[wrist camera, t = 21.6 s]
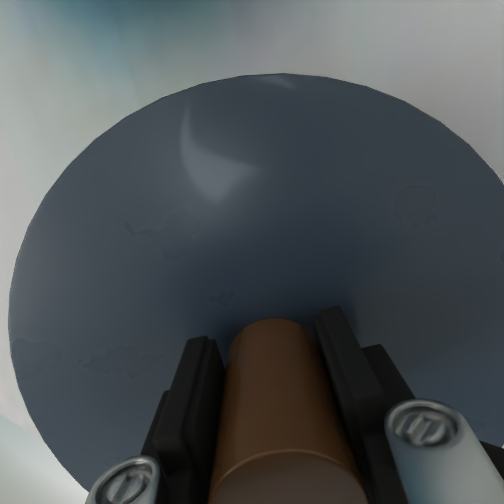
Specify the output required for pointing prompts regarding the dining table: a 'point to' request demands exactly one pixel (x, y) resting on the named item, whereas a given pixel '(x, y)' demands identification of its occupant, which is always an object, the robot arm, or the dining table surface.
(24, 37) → the dining table surface
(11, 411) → the dining table surface
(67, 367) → the lid
